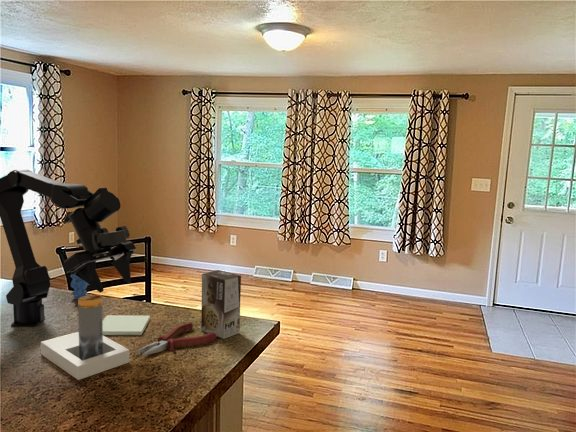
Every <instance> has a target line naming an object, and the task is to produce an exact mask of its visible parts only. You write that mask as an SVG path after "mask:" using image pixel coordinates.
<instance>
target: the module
mask: <svg viewBox="0 0 576 432" xmlns="http://www.w3.org/2000/svg"><path fill="white" fill-rule="evenodd" d="M77 311H78V312H77V313H78V315H77V317H78V332H79V359H81V360H82V361H83V360H86V359H89V358H92V357H95V356H98V355H102V354H103V336H104V335H103V320H104V318H103V314H104V313H103V296H101V295H96V294H93V295H92V294H91V295H85V296H83V297H80V298H79V299H78V300H77Z"/></svg>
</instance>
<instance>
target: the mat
mask: <svg viewBox="0 0 576 432" xmlns="http://www.w3.org/2000/svg"><path fill="white" fill-rule="evenodd" d="M150 320H151V315H111V314H110V315H108V314H107V315H106V316H105V317H104V318H103V336H142V335H143V334H144V332H145V329H146V328H147V327H148V324H149V322H150Z"/></svg>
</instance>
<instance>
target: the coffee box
mask: <svg viewBox="0 0 576 432" xmlns="http://www.w3.org/2000/svg"><path fill="white" fill-rule="evenodd" d="M241 289H242V275H240V274H235V273H232V272H227V271H225V270H224V271H223V270H219V269H217V270H216V269H215V270H211V271H209V272H205V273H202V274H201V322H200V323H201V324H200V325H201V328H200V329H201V331H202V332H204V333H206V334H208V333H211V332H214V333H215V334H216V338H217V337H218V338H220V339H224V340H225V339H227V338H229V337H230V338H231V337H233V336H235V335H238V334H240V328H241V327H240V325H241V323H240V321H241V319H240V318H241V291H242V290H241Z"/></svg>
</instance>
